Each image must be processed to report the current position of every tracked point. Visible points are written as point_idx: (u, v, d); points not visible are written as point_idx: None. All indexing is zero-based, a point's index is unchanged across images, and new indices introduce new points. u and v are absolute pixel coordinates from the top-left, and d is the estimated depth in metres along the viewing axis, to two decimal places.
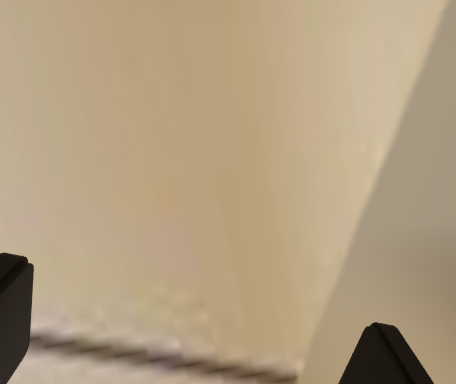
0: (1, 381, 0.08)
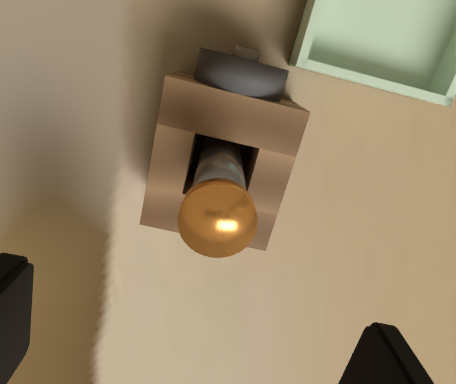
0: (1, 381, 0.08)
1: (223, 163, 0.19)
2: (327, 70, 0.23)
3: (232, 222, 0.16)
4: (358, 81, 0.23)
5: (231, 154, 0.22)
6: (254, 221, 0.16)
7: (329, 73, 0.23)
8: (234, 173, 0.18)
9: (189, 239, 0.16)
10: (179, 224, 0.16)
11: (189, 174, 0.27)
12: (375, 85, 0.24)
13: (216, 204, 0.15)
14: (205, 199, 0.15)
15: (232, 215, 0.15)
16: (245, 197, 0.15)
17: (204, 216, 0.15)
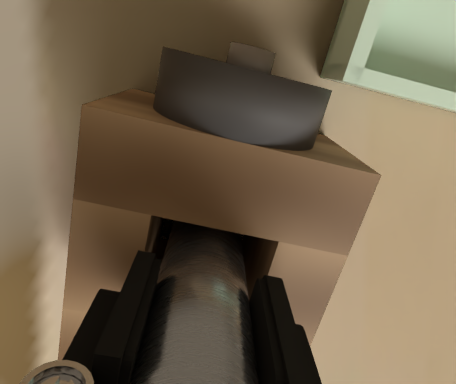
0: None
1: (204, 307, 0.08)
2: (400, 88, 0.13)
3: None
4: (454, 108, 0.13)
5: (223, 257, 0.11)
6: None
7: (403, 94, 0.13)
8: (230, 348, 0.08)
9: None
10: None
11: None
12: None
13: None
14: None
15: None
16: None
17: None
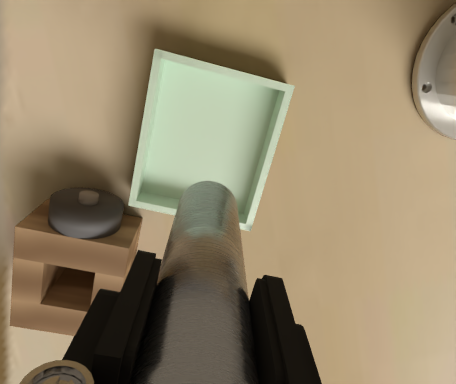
0: None
1: (204, 299, 0.09)
2: (153, 208, 0.31)
3: None
4: None
5: (223, 252, 0.11)
6: None
7: (154, 210, 0.31)
8: (230, 338, 0.08)
9: None
10: None
11: (60, 276, 0.34)
12: None
13: None
14: None
15: None
16: None
17: None
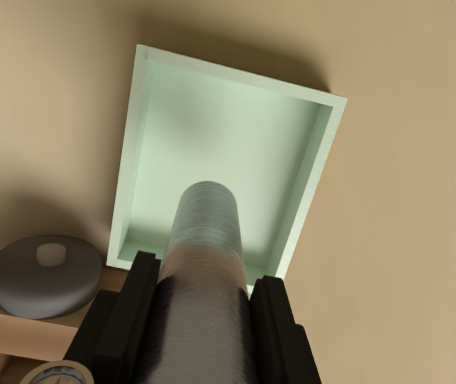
0: None
1: (204, 299, 0.09)
2: None
3: None
4: None
5: (223, 252, 0.11)
6: None
7: None
8: (230, 338, 0.08)
9: None
10: None
11: None
12: None
13: None
14: None
15: None
16: None
17: None
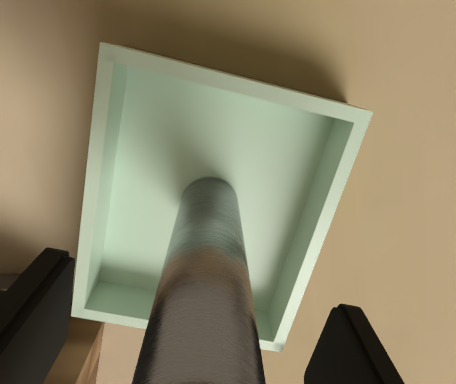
0: (47, 367, 0.09)
1: (210, 282, 0.09)
2: (114, 319, 0.18)
3: None
4: None
5: (226, 241, 0.12)
6: None
7: (117, 322, 0.18)
8: (234, 316, 0.08)
9: None
10: None
11: None
12: None
13: None
14: None
15: None
16: None
17: None
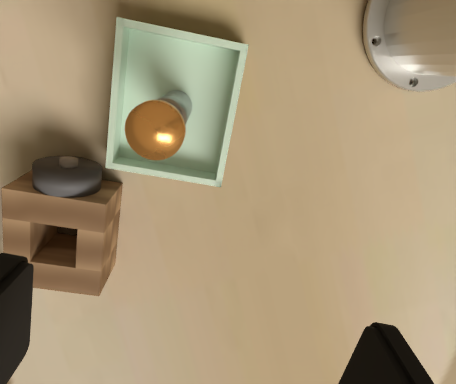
0: (1, 381, 0.08)
1: (165, 99, 0.25)
2: (128, 169, 0.33)
3: (165, 130, 0.21)
4: (152, 174, 0.34)
5: (176, 98, 0.27)
6: (182, 129, 0.21)
7: (130, 171, 0.33)
8: (172, 103, 0.24)
9: (135, 146, 0.21)
10: (126, 134, 0.21)
11: (50, 240, 0.37)
12: (164, 176, 0.34)
13: (152, 116, 0.21)
14: (143, 112, 0.21)
15: (165, 124, 0.21)
16: (173, 109, 0.21)
17: (144, 126, 0.21)
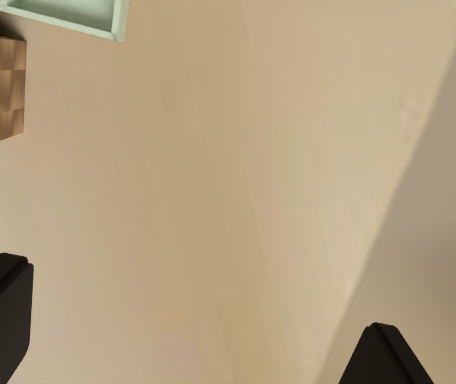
0: (1, 381, 0.08)
1: None
2: (22, 13, 0.34)
3: None
4: (46, 22, 0.34)
5: None
6: None
7: (24, 16, 0.34)
8: None
9: None
10: None
11: None
12: (59, 25, 0.34)
13: None
14: None
15: None
16: None
17: None
